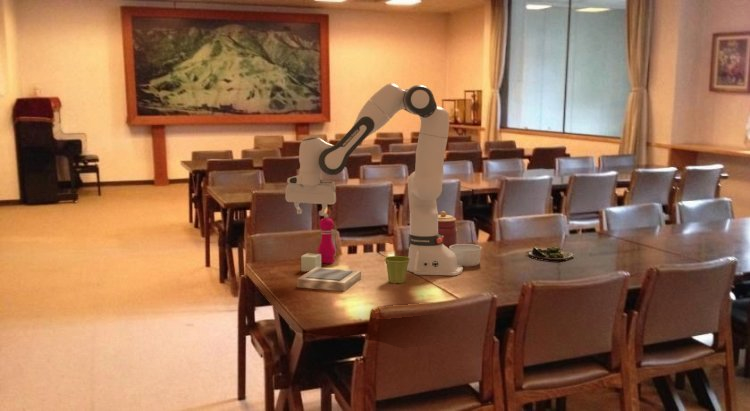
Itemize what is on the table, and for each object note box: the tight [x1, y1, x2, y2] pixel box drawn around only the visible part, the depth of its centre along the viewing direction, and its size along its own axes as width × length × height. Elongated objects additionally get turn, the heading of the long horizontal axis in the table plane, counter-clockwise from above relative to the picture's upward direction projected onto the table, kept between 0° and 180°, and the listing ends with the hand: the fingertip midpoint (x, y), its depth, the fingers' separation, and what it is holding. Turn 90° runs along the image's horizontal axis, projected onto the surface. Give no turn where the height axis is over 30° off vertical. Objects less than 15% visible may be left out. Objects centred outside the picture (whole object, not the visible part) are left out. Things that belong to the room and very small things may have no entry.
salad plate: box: [524, 246, 574, 262], centre depth 290 cm, size 19×18×5 cm
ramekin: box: [449, 243, 483, 267], centre depth 277 cm, size 13×13×7 cm
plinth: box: [296, 267, 362, 292], centre depth 247 cm, size 18×18×3 cm
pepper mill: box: [317, 213, 336, 264], centre depth 278 cm, size 7×7×20 cm
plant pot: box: [384, 255, 410, 284], centre depth 248 cm, size 9×9×9 cm
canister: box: [438, 210, 459, 249], centre depth 301 cm, size 13×13×18 cm
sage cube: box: [300, 252, 322, 272], centre depth 266 cm, size 6×6×6 cm
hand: (310, 214), depth 264 cm, fingers open, 8 cm apart
